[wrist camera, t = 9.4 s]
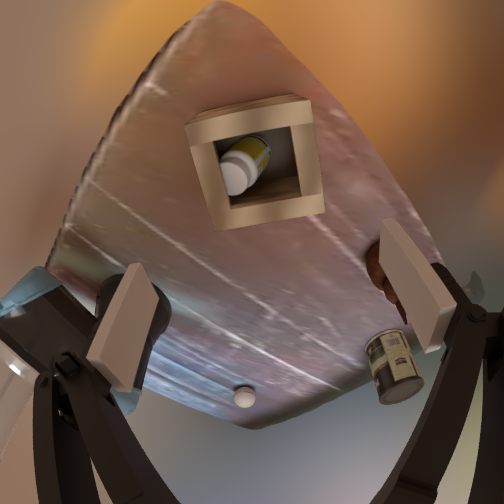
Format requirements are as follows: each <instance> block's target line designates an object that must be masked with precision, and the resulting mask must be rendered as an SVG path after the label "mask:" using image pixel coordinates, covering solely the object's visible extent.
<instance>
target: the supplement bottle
mask: <svg viewBox="0 0 504 504" xmlns="http://www.w3.org/2000/svg"><path fill="white" fill-rule="evenodd" d="M270 159H271V149H270V146H269V145H268V143H267V142H266V141H265V140H264V139H263V138H261V137H259V136H256V135H248V136H245V137H243V138H241V139H240V140H239V141H238V142H237V143H236V144H234V145H233V146H232V147H231V148H230V149H229V150H228V151H227V152H226V153H225V154H224V155H223V156H222V157H221V158H220V160H219V163H220V166H221V170H222V174H223V178H224V182H225V185H226V189H227V193H228V195H232V196H233V195H239V194H241V193H242V192H244V191H245V189H246V188H248V187H250V186H252V185H253V184H254V183H255V181H256V180H257V179H258V177H259V176H260V174H261V173H262V171H263V170H264V169H265V167H266V166H267V164H268V163H269V161H270Z"/></svg>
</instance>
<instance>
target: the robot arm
mask: <svg viewBox="0 0 504 504" xmlns="http://www.w3.org/2000/svg"><path fill="white" fill-rule="evenodd" d="M379 263H380V265H381V267H382V268H383V270H384V272H385V274H386V276H387V278H388V279H389V281H390V283H391V285H392V287H393V289H394V291H395V293H396V294H397V296H398V298H399V300H400V302H401V304H402V306H403V308H404V310H405V312H406V314H407V316H408V318H409V320H410V322H411V324H412V326H413V328H414V331H415V333H416V335H417V337H418V339H419V341H420V343H421V346H422V348H423V350H424V352H425V353H428V352H431V351H435V350H437V349H440V347H441V344H442V342H443V340H444V342H445V344H446V346H447V348H446V350H445V352H444V354H443V356H442V359H441V361H442V362H441V365H440V368H439V371H438V373H437V376H436V379H435V382H434V384H433V387H432V390H431V392H430V395H429V397H428V400H427V402H426V404H425V407H424V409H423V411H422V414H421V416H420V418H419V420H418V423H417V425H416V427H415V429H414V431H413V433H412V435H411V437H410V439H409V441H408V443H407V445H406V447H405V449H404V451H403V452H402V454H401V456H400V458H399V460H398V461H397V463H396V465H395V467H394V469H393V470H392V472H391V474H390V475H389V477H388V478H387V480H386V482H385V483H384V485H383V486H382V488H381V489H380V491H379V492H378V493H377V494H376V496H375V497H374V498H373V500H372V501H371V503H370V504H434V502H435V500H436V497H437V488H438V485H439V483H440V481H441V479H442V477H443V475H444V473H445V471H446V469H447V466H448V464H449V462H450V459H451V457H452V455H453V453H454V450H455V448H456V445H457V443H458V440H459V437H460V435H461V432H462V429H463V427H464V423H465V421H466V417H467V414H468V412H469V408H470V405H471V402H472V398H473V394H474V391H475V387H476V384H477V379H478V376H479V371H480V367H481V362H482V359H483V405H482V422H481V433H480V442H479V449H478V456H477V462H476V468H475V473H474V478H473V483H472V488H471V492H470V496H469V500H468V504H504V308H503V310H502V312H498V313H497V312H496V313H488V312H486V310H485V309H484V308H482V307H481V306H479V305H477V304H472V303H471V302H470V300H469V299H468V297H467V296H466V294H465V293H464V292H463V290H462V289H461V287H460V286H459V285H458V283H456V280H455V279H454V278H453V277H452V275H451V274H450V272H449V271H448V270H447V268H446V267H444V266H443V265H441V264H440V263H438V262H436V263H432V264H429V262H428V261H427V260H426V258H425V257H424V256H423V254H422V253H421V252H420V250H419V249H418V248H417V246H416V245H415V244H414V243H413V241H412V240H411V239H410V237H409V236H408V235H407V234H406V232H405V231H404V230H403V229H402V227H401V226H400V225H399V224H398V223H397V221H396V220H395V219H394V218H387V219H381V220H380V249H379ZM62 284H63V283H62V282H61V281H58V280H57V279H56V278H55V277H54V276H53V275H52V274H51V273H50V272H49V271H48V270H47V269H46V268H44V267H41V266H38V267H35V268H33V269H32V270H31V271H29V272H28V273H27V274H26V275H25V276H24V277H23V278H22V279H21V280H20V281H19V282H18V283H17V284H16V285H15V286H14V287H13V288H12V289H11V290H10V291H9V292H8V293H7V294H6V295H5V296H4V297H3V298H2V299H1V300H0V460H1V458H2V456H3V454H4V451H5V449H6V447H7V444H8V442H9V440H10V437H11V435H12V433H13V431H14V429H15V427H16V424H17V423H18V420H19V418H20V416H21V414H22V412H23V410H24V408H25V406H26V404H27V402H28V401H29V399H30V397H31V395H32V393H33V391H34V397H33V398H34V399H33V450H34V466H35V477H36V485H37V493H38V499H39V504H101V503H100V499H99V495H98V491H97V487H96V483H95V478H94V474H93V469H92V464H91V459H92V462H93V464H94V466H95V468H96V470H97V473H98V474H99V477H100V479H101V481H102V483H103V485H104V487H105V489H106V491H107V493H108V495H109V497H110V498H111V500H112V502H113V504H181V503H179V501H178V500H177V499H176V498H175V496H174V495H173V493H172V492H171V491H170V489H169V488H168V487H167V485H166V484H165V483H164V481H163V480H162V478H161V477H160V475H159V474H158V472H157V471H156V469H155V468H154V466H153V465H152V463H151V462H150V460H149V459H148V457H147V455H146V454H145V452H144V450H143V449H142V447H141V445H140V444H139V442H138V440H137V439H136V437H135V435H134V434H133V432H132V430H131V428H130V426H129V425H128V423H127V421H126V419H125V417H124V416H126V415H129V414H131V413H133V412H134V410H135V409H136V406H137V403H138V400H139V397H140V395H141V394H142V393H141V390H142V386H143V382H144V377H145V373H146V369H147V365H148V362H149V358H150V354H151V351H152V347H153V345H154V344H155V342H156V341H157V339H158V338H159V336H160V335H161V334H162V333H163V332H164V331H165V330H166V328H167V327H168V324H169V321H170V317H171V306H170V303H169V301H168V299H167V298H166V296H165V295H164V294H163V293H162V291H161V290H160V289H158V288H157V287H156V286H155V285H153V284H152V283H151V282H150V280H149V278H148V276H147V274H146V272H145V270H144V268H143V266H142V263H141V262H139V263H134V264H130V265H129V267H128V268H127V270H126V272H125V274H121V275H115V276H112V277H110V278H108V279H106V280H105V281H104V282H103V284H102V286H101V287H100V289H99V291H98V293H97V297H96V308H95V316H94V315H92V314H91V313H90V312H89V311H88V310H87V309H86V308H85V307H84V306H83V305H82V304H81V303H80V302H79V301H78V300H77V299H76V298H75V297H74V296H73V295H72V294H71V293H70V292H69V291H68V290H67V289H66V288H65V287H64V286H63V285H62ZM54 375H56V376H54ZM59 411H60V415H59ZM90 457H91V459H90Z"/></svg>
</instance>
